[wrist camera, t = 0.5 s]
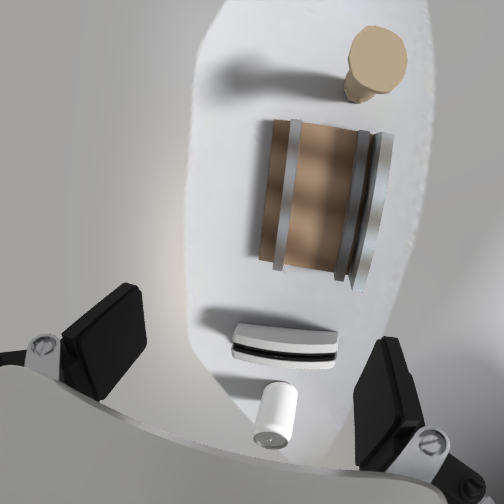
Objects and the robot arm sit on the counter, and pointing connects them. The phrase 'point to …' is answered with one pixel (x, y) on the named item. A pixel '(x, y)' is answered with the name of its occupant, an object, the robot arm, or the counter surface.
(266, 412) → the can
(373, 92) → the handle
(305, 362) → the grey curved slotted block
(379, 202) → the track
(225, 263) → the counter surface
